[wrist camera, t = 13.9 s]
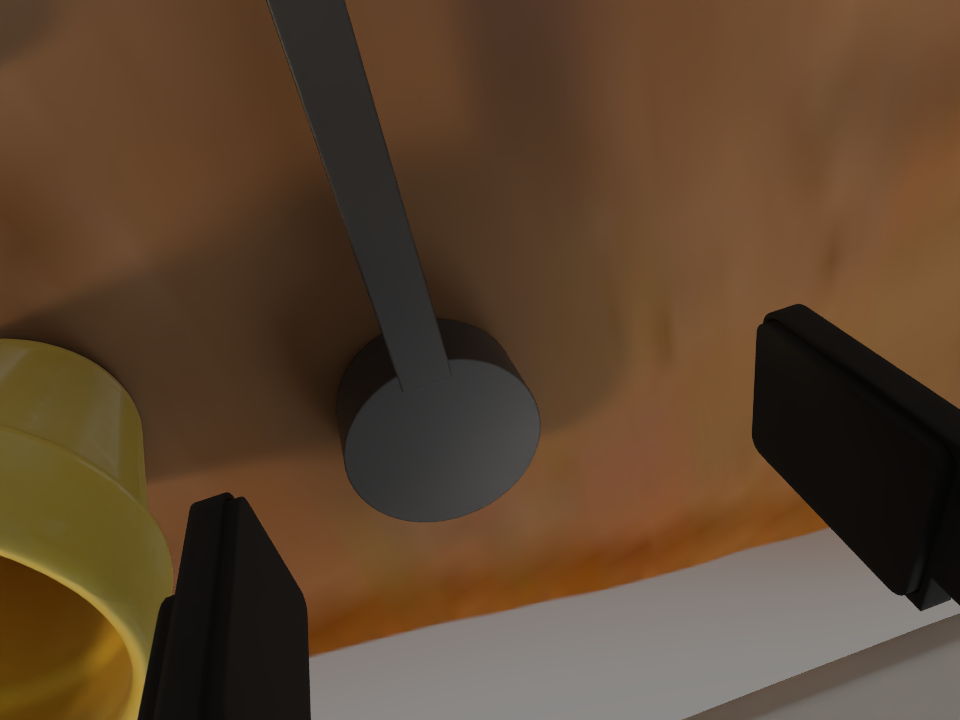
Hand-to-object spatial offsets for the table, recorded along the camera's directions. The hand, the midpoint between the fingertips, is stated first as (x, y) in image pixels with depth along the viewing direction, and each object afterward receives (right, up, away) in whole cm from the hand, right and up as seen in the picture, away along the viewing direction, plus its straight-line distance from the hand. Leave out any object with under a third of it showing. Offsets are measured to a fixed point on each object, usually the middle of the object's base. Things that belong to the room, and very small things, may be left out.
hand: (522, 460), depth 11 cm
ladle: (-4, +6, +10) cm, 12 cm away
